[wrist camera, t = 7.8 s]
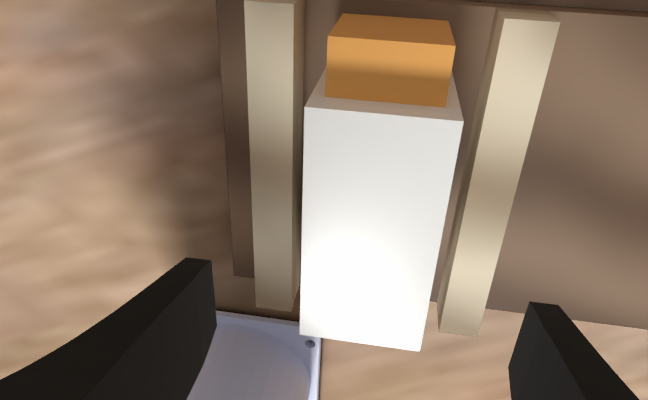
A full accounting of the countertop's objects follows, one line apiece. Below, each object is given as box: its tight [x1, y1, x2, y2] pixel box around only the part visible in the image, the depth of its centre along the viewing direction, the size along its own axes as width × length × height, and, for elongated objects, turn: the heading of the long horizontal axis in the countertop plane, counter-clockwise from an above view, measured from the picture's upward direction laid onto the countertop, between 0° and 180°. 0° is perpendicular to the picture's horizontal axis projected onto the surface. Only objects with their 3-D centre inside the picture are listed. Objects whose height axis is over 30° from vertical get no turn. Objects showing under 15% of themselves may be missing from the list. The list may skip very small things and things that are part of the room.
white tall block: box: [300, 13, 464, 352], centre depth 17 cm, size 10×4×5 cm, turn 178°
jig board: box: [216, 0, 648, 337], centre depth 18 cm, size 12×22×3 cm, turn 88°
